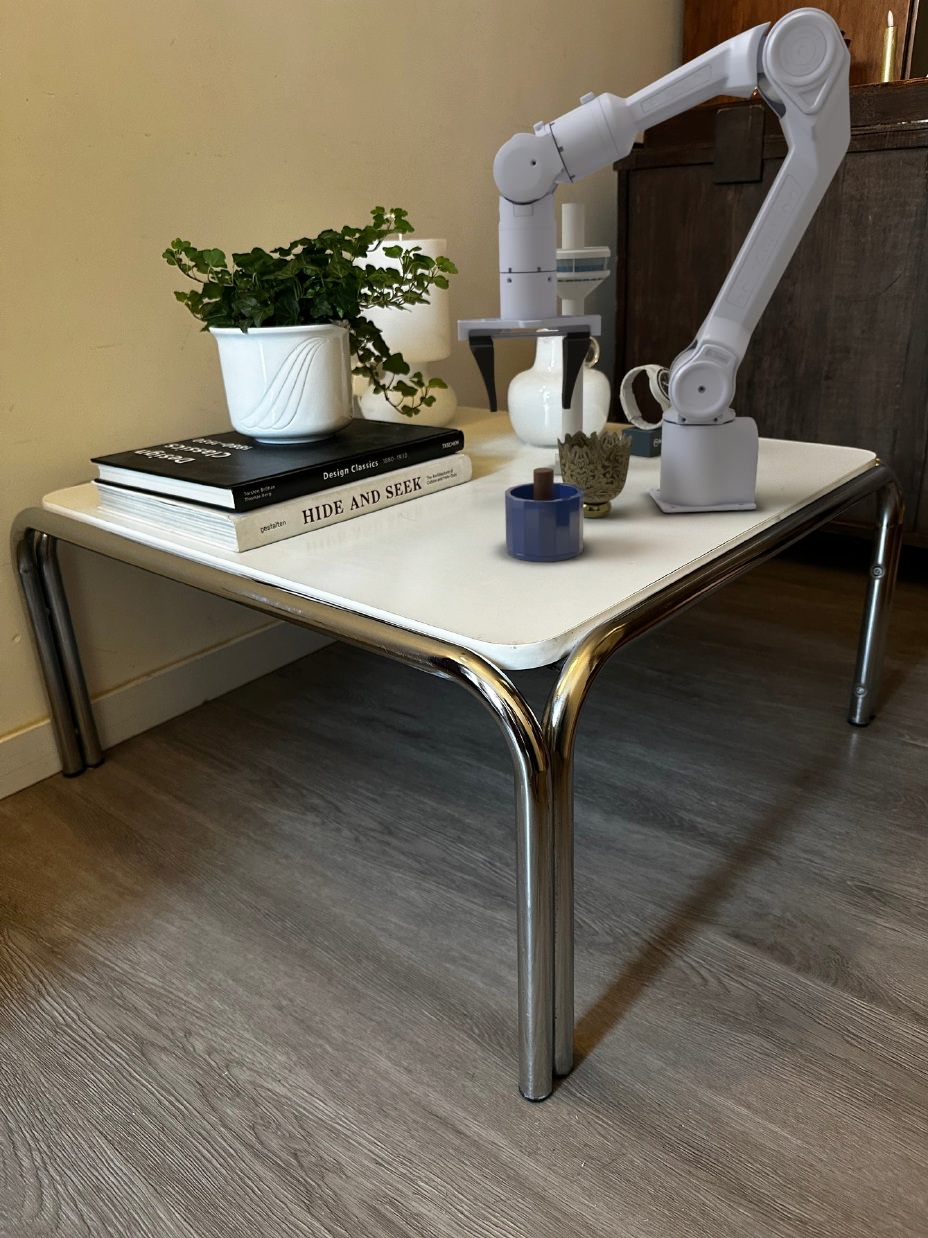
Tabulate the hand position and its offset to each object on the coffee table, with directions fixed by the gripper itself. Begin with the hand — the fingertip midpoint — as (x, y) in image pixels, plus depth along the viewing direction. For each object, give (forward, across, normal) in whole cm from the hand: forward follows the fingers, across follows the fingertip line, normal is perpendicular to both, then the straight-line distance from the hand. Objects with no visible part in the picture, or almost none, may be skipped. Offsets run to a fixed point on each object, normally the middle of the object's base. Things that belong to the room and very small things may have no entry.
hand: (529, 409), depth 98 cm
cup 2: (+10, +6, -7) cm, 13 cm away
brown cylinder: (+9, 0, -18) cm, 20 cm away
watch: (+10, +17, +22) cm, 30 cm away
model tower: (+10, +6, +13) cm, 18 cm away
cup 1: (+10, 0, -18) cm, 20 cm away
